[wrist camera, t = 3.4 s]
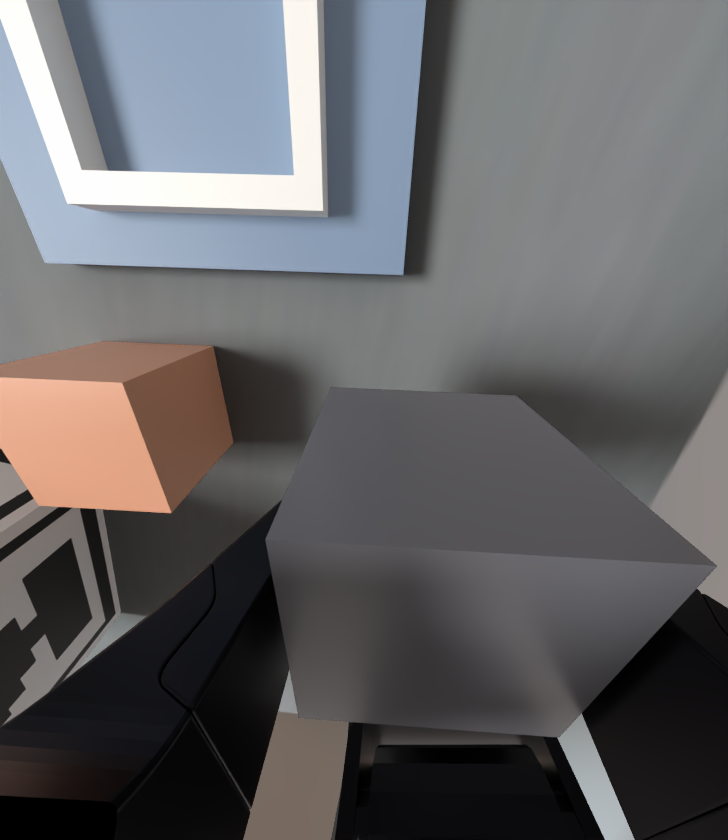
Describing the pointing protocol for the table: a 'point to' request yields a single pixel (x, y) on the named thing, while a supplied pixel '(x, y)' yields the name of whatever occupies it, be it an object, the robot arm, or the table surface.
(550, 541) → the charcoal cube
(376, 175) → the board
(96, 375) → the terracotta cube
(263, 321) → the table surface
